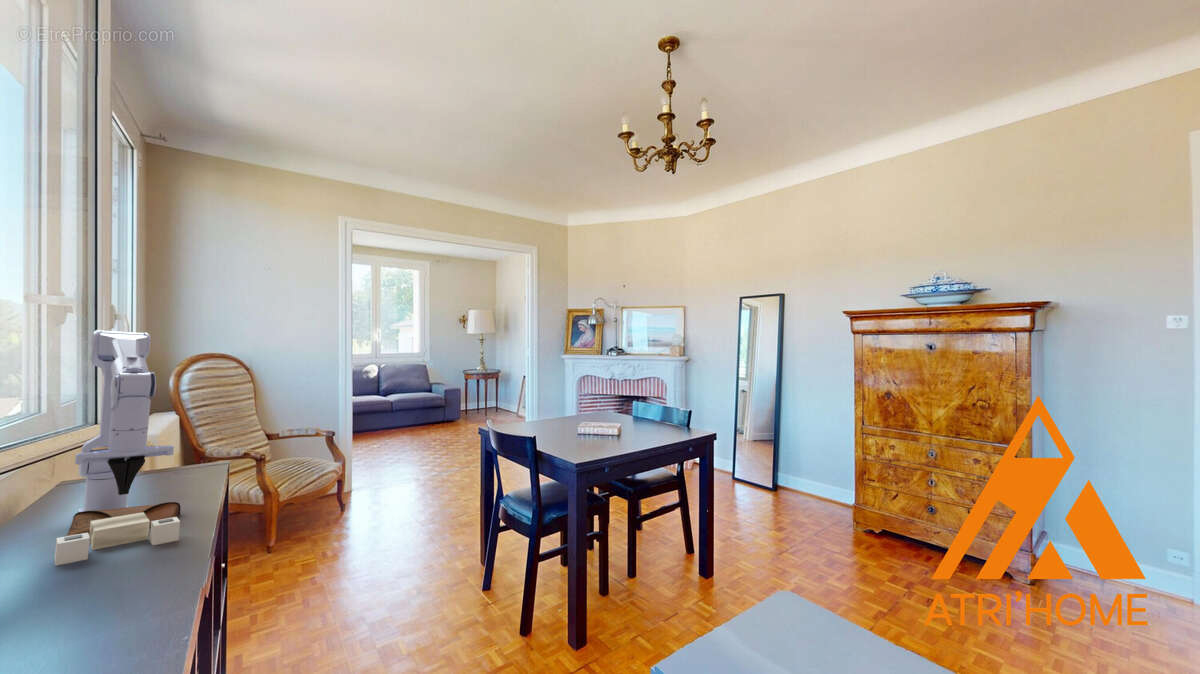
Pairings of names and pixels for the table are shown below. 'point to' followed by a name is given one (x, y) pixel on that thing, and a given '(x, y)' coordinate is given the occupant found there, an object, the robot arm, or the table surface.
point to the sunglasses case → (151, 511)
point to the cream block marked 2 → (164, 530)
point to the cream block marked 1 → (72, 548)
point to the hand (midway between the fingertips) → (123, 493)
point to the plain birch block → (118, 530)
